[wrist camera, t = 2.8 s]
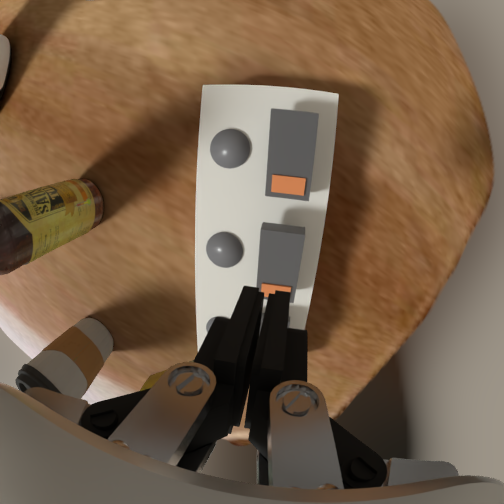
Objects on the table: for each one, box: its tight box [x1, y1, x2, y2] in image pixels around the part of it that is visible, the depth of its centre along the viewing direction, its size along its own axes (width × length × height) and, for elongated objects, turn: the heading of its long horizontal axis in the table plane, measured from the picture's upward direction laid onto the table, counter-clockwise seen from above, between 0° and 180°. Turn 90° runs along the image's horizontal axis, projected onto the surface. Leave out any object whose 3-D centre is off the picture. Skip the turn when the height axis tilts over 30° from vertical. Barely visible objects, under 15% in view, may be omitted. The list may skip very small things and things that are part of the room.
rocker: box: [265, 108, 319, 201], centre depth 18 cm, size 6×3×1 cm, turn 175°
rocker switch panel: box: [195, 85, 339, 351], centre depth 24 cm, size 26×10×4 cm, turn 176°
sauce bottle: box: [0, 179, 103, 275], centre depth 18 cm, size 7×6×20 cm
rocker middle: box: [256, 222, 305, 303], centre depth 20 cm, size 6×3×1 cm, turn 175°
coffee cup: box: [16, 318, 113, 399], centre depth 27 cm, size 8×8×15 cm
